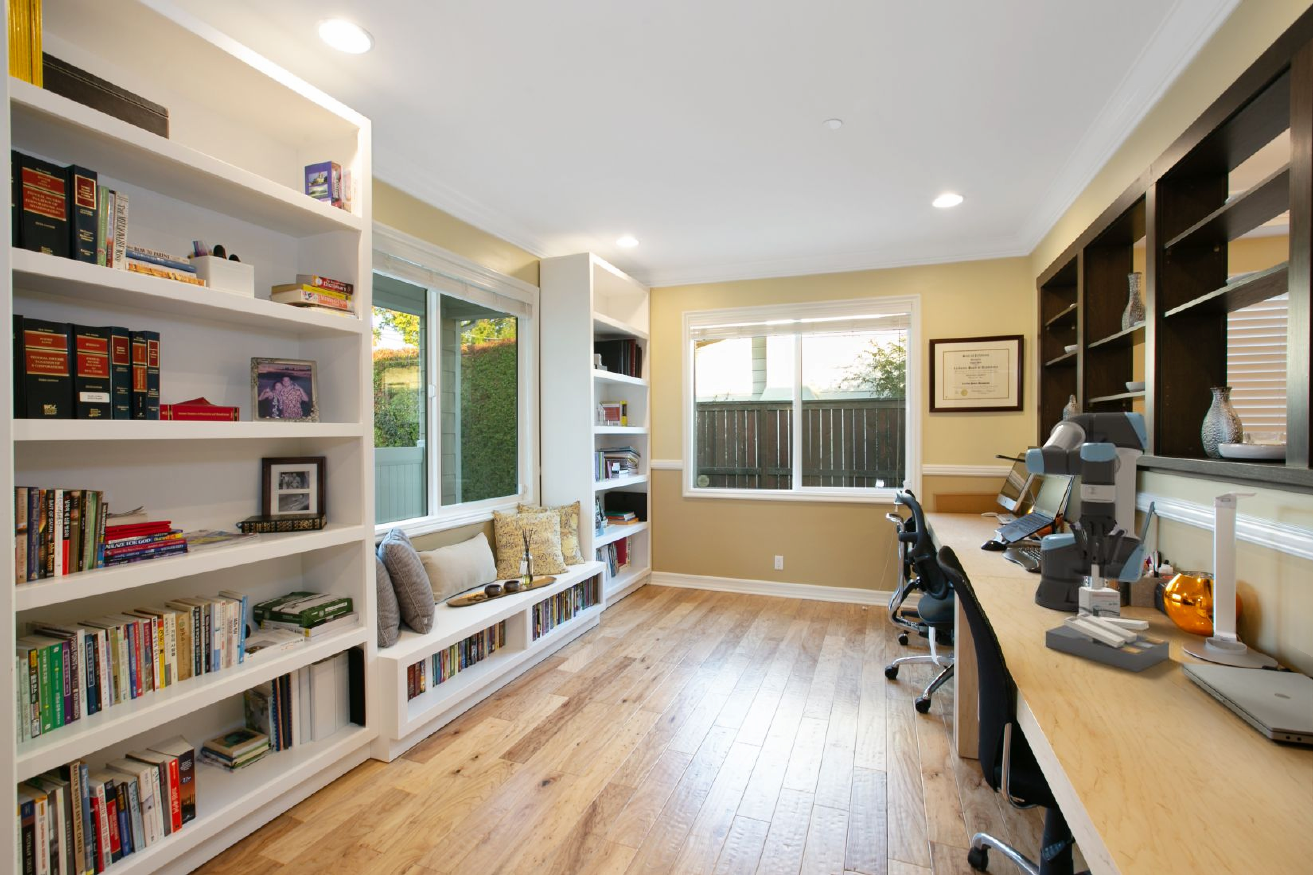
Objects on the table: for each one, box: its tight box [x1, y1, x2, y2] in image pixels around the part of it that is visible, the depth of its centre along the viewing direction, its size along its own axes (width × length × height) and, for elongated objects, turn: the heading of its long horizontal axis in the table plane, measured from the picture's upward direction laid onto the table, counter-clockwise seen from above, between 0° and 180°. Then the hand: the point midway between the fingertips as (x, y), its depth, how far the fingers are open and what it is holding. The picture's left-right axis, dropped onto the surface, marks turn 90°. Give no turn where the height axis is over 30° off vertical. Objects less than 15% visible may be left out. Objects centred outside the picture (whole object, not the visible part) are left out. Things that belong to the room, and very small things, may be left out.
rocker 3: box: [1094, 616, 1150, 631], centre depth 156 cm, size 4×12×2 cm, turn 31°
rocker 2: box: [1075, 612, 1138, 643], centre depth 153 cm, size 4×12×2 cm, turn 31°
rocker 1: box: [1063, 615, 1126, 648], centre depth 150 cm, size 4×12×2 cm, turn 31°
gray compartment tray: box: [1045, 624, 1170, 673], centre depth 153 cm, size 18×20×5 cm
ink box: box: [1078, 586, 1121, 619], centre depth 170 cm, size 9×5×12 cm, turn 84°
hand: (1097, 588), depth 158 cm, fingers closed
